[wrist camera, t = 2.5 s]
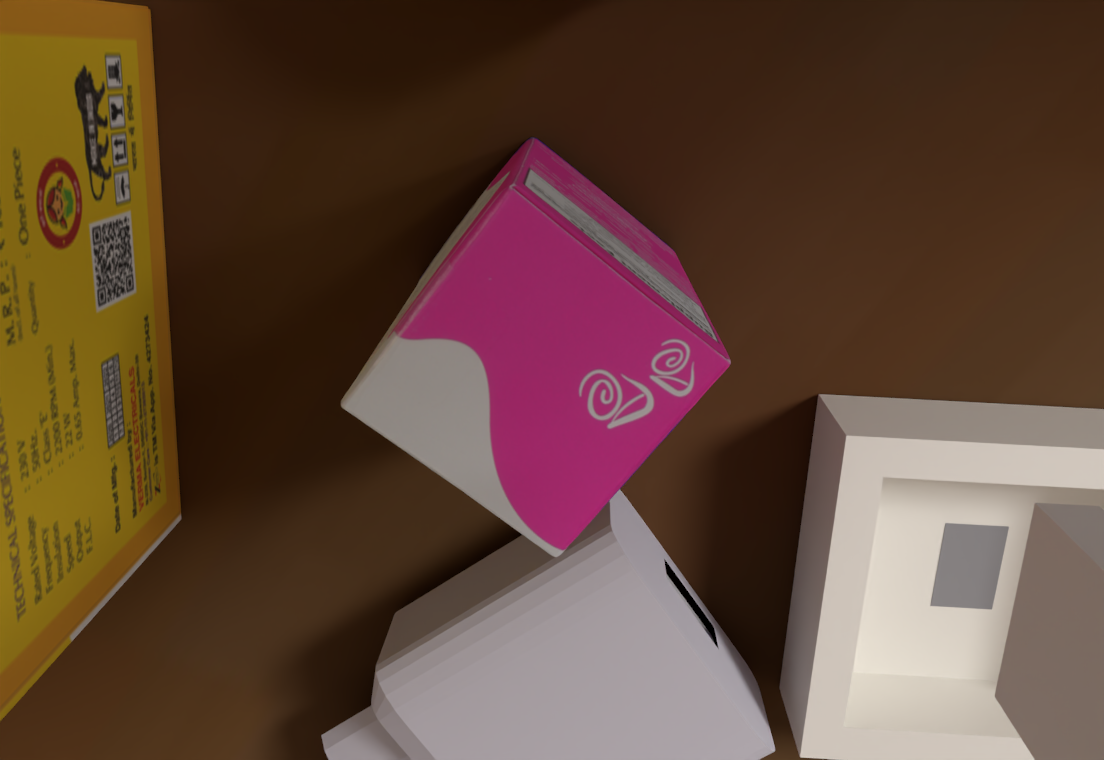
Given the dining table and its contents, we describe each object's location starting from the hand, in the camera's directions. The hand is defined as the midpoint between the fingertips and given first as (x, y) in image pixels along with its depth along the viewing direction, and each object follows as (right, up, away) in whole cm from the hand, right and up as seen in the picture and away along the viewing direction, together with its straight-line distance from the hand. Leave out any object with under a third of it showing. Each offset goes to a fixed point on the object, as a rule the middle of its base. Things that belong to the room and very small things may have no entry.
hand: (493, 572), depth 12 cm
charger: (-1, -8, +23) cm, 24 cm away
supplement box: (+1, +6, +18) cm, 19 cm away
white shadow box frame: (+14, -3, +20) cm, 25 cm away
